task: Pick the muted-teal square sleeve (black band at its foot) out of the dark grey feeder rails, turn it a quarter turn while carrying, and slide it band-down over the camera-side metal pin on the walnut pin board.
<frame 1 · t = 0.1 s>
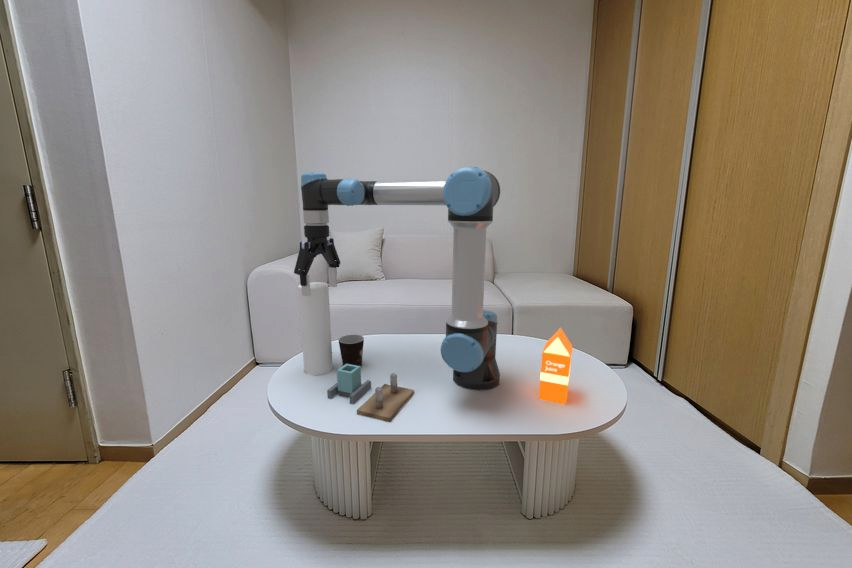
hand: (320, 291, 120), 28 cm above the table, fingers open, 13 cm apart
pin board: (387, 403, 106), on the table
orange juice: (553, 395, 112), on the table
feeder rails: (349, 393, 112), on the table
coffee mug: (349, 368, 129), on the table
sleeve: (349, 393, 112), on the table
cylinder container: (318, 369, 128), on the table
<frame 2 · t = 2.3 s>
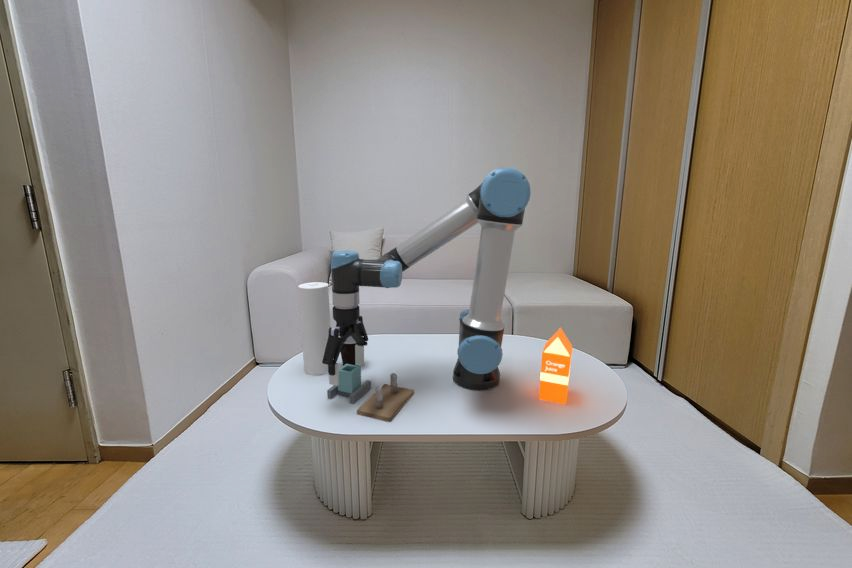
hand: (347, 374, 111), 6 cm above the table, fingers open, 13 cm apart
nothing on the table moved.
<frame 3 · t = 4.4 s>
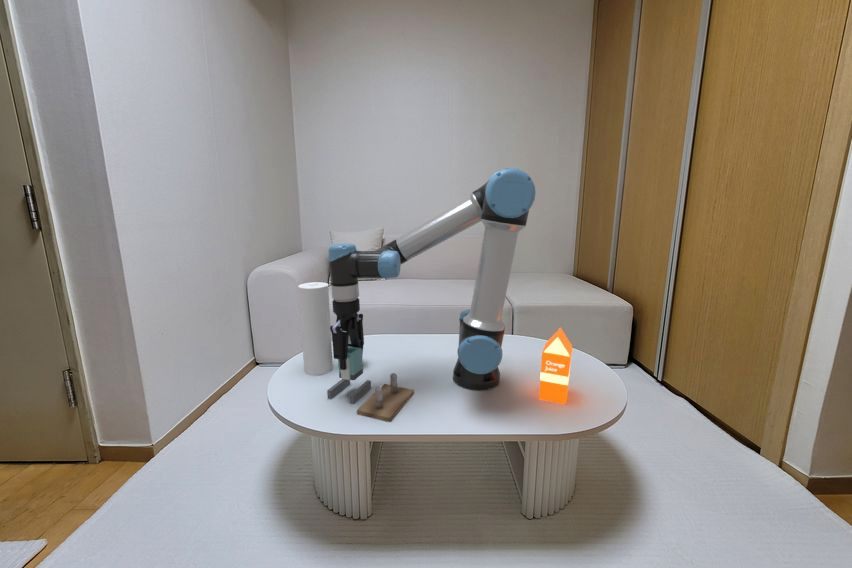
hand: (351, 374, 111), 6 cm above the table, fingers closed on sleeve, 5 cm apart
sleeve: (351, 375, 111), point 6 cm above the table, touching gripper
everything else where it was.
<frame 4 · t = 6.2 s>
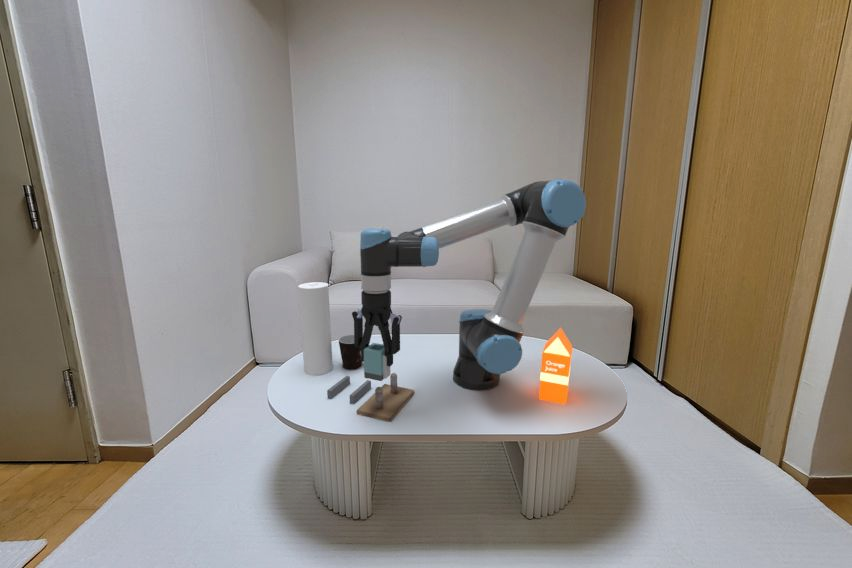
hand: (377, 374, 100), 11 cm above the table, fingers closed on sleeve, 5 cm apart
sleeve: (377, 375, 100), point 11 cm above the table, touching gripper
everything else where it was.
when the fingers open (2 cm above the table, at t = 7.9 s): sleeve stays where it is, resting on pin board.
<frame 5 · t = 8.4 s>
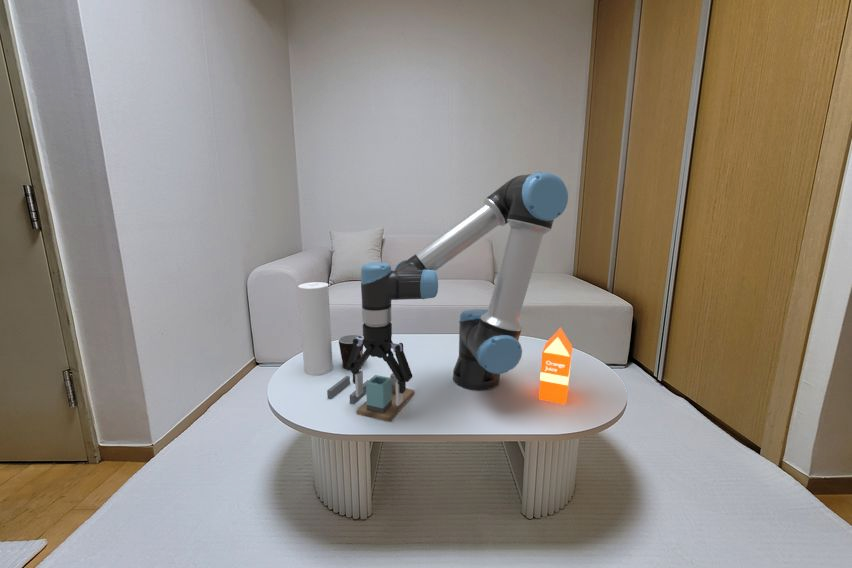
hand: (379, 398, 102), 4 cm above the table, fingers open, 11 cm apart
sleeve: (379, 407, 102), point 1 cm above the table, touching pin board
everything else where it was.
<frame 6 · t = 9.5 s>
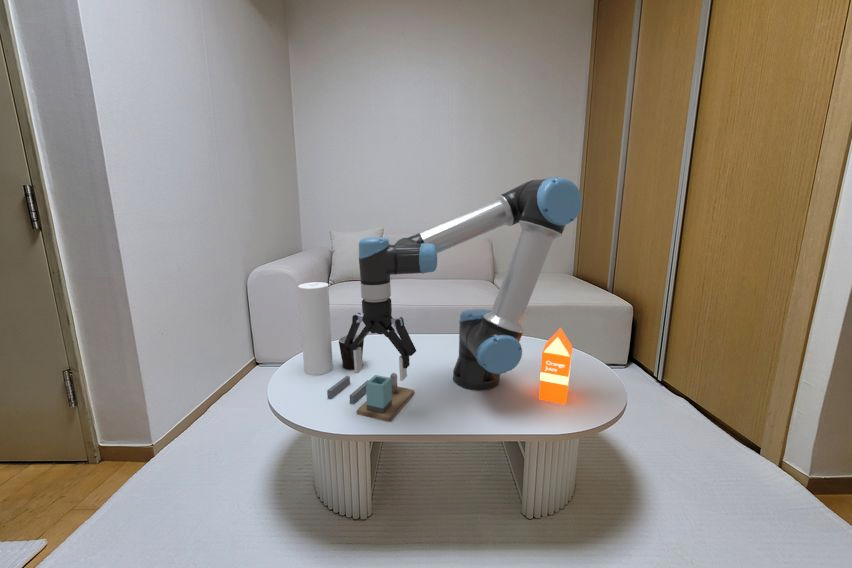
hand: (380, 374, 100), 11 cm above the table, fingers open, 13 cm apart
nothing on the table moved.
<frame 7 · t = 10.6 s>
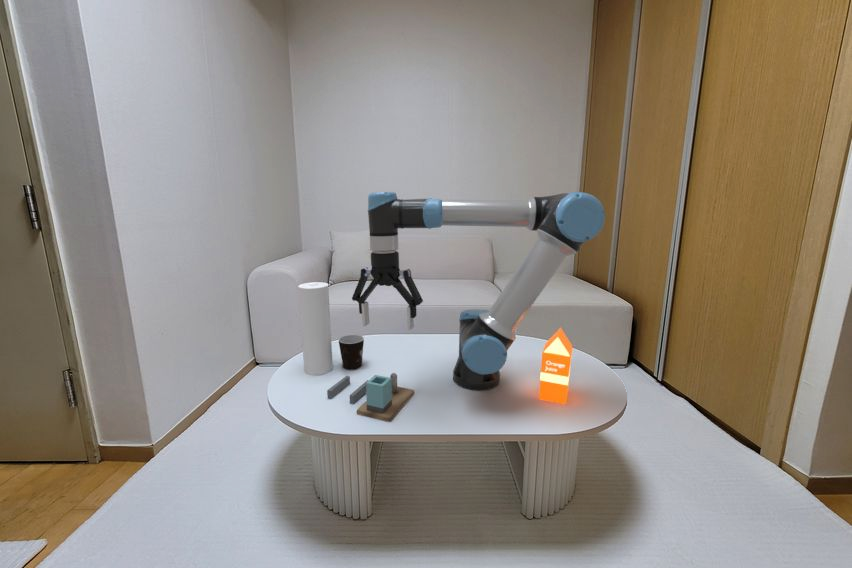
hand: (387, 326, 104), 22 cm above the table, fingers open, 13 cm apart
nothing on the table moved.
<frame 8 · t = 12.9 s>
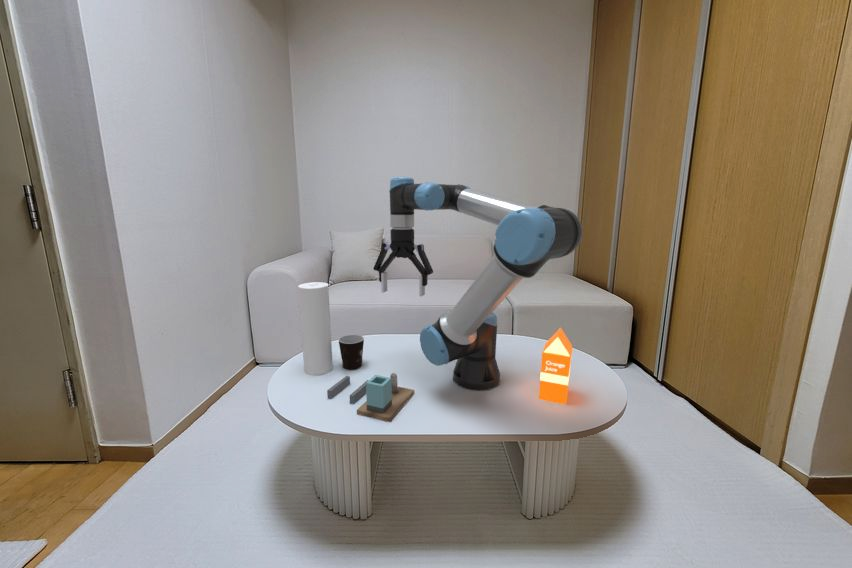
hand: (402, 293, 122), 27 cm above the table, fingers open, 13 cm apart
nothing on the table moved.
at the end: sleeve 0.1 cm from the target spot on the pin board, point 1.2 cm above the pin board's base; sleeve tilted 0°; the gripper is holding nothing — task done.
